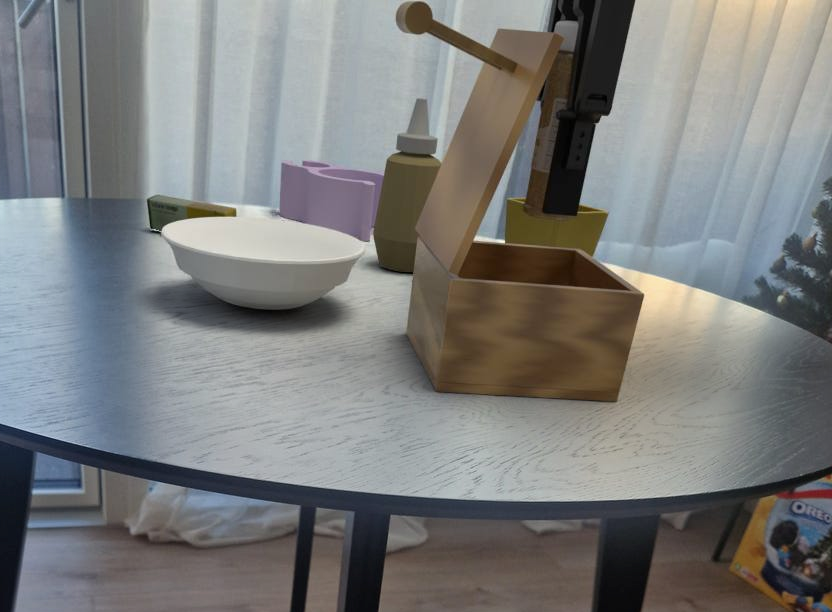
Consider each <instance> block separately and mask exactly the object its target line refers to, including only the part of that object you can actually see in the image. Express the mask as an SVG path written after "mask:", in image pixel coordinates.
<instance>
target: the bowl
mask: <svg viewBox="0 0 832 612" xmlns="http://www.w3.org/2000/svg"><path fill="white" fill-rule="evenodd" d="M160 235H161V237H162V239H163V240H164V241H165V242H166V243H167V244H168V245H169V247H170V248H171V250H172V252H173V257H174V260H175V262H176V266H177V268H178V269H179V270H180V271H182V272H183V273H184V274H185V275H188V276H190V278H191V279H192V280H193V281H194V282H196V283H197V284H198V285H199V286H200V287H202V288H203V289H204V290H205V291H207V292H208V293H210V294H211V295H213V296H215V297H216V298H217V299H220V300H222V301H224V302H226V303H229V304H232V305H234V306H239V307H243V308H249V309H255V310H267V311H268V310H269V311H270V310H277V311H279V310H281V311H282V310H290V309H291V310H292V309H297V308H300V307H303V306H305V305H308V304H311V303H312V302H314V301H317V300H319V299H320V298H322V297H324V296H326V294H328V293H329V292H331V291H333V290H334V289H335V288H336V287H338V286H341V285H343V284H346V282H348V279H349V277H350V274H351V271H352V269H353V267H354V266H355V264H356V263H357V261H358V260H359V259H360V258H362V257H363V256H364V255H365V253H366V251H367V248H366V246H365V244H364V242H363V241H361V240H360V239H359V238H354V237H352V236H350V235H348V234H345V233H342V232H339V231H335V230H332V229H328V228H324V227H320V226H315V225H310V224H305V223H304V222H299V221H292V220H283V219H275V218H263V217H249V216H248V217H247V216H237V217H203V218H193V219H186V220H180V221H176V222H173V223H170V224H167V225H166V226H164V227H163V229H162V232H160Z"/></svg>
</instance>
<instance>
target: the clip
mask: <svg viewBox="0 0 832 612" xmlns="http://www.w3.org/2000/svg"><path fill="white" fill-rule="evenodd" d="M383 177H384V173H382V172H378V171H372V170H365V169H359V168H358V169H357V168H350V167H344V166H340V165H337V164H334V163H330V162H325V161H318V160H310V159H302V162H301V165H300V164H295V163H293V161H292V160H285V159H284V160H281V162H280V183H279V185H280V186H279V187H280V189H279V208H278V210H279V211H278V215H279V216H280V217H283V218H285V219H289V220H294V221H297V222H300V223H304V224H310V225H315V226H320V227H324V228H328V229H332V230H335V231H339V232H342V233H345V234H348V235H350V236H352V237H354V238H356V239H358V240H360V241H361V242H370V241H371V232H372V227H373V228H374V225H375V220H376V214H377V209H378V204H379V198H380V193H381V188H382V183H383Z"/></svg>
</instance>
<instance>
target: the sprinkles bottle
mask: <svg viewBox="0 0 832 612" xmlns="http://www.w3.org/2000/svg"><path fill="white" fill-rule="evenodd" d="M578 25H579V24H578V22H577V21H559V22H557V23H556V25H555V30H554V33H556V34H558V35H560V36H562V37H564V40H563V42H562V44H561V47H560V49H559V51H558V53H557V55H556V58H555V60H554V62H553V64H552V67H551V69H550V71H549V76H548V81H547V86H546V92H545V98H544V102H543V106H542V110H541V109H540V115H539V121H538V126H537V131H536V137H535V143H534V146H533V147H534V148H533V152H532V158H531V163H530V173H531V174H529V180H528V184H529V185H527V191H526V194H525V198H526V201H525V203H524V204H523V212H524V213H526V214H528V215H530V216H533V217H539V218H545V219H552V220H571V219H574V218H575V217H576V216H568V215H556V214H545V213H543V212H542V209H543V203H544V198H545V193H546V188H547V183H548V177H549V172H550V167H551V162H552V156H553V151H554V146H555V141H556V135H557V130H558V125H559V120H557V119H556V112H557V111H559V110H561V109H564V110H566V107H567V99H568V92H569V84H570V77H571V69H572V62H573V54H574V48H575V43H576V37H577V32H578ZM594 124H596V123H594Z"/></svg>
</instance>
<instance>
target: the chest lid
mask: <svg viewBox="0 0 832 612" xmlns="http://www.w3.org/2000/svg"><path fill="white" fill-rule="evenodd" d="M395 23H396V26H397V28H398V29H399V30H400V31H401V32H402V33H404V34H410V35H416V36H417V35H418V36H420V35H423V34H428V35H430V36H432V37H434V38H435V39H438V40H440V41H442V42H444V43H446V44H448V45H450V46H452V47H453V48H456V49H457V50H459V51H461V52H464V53H465V54H467V55H469V56H471V57H473V58H475V59H477V60H479V61H481V62H483V64H482V66H481V68H480V70H479V73H478V76H477V78H476V80H475V82H474V85H473V87H472V90H471V92H470V95H469V97H468V100H467V101H466V104H465V107H464V109H463V111H462V114H461V116H460V119H459V120H458V124H457V126H456V128H455V130H454V133H453V136H452V138H451V141H450V142H449V145H448V147H447V150H446V153H445V154H444V157H443V159H442V162H441V163H442V164H441V167H440V169H439V172H438V174H437V176H436V179H435V181H434V184H433V186H432V188H431V191H430V193H429V196H428V198H427V200H426V203H425V205H424V208H423V210H422V213H421V215H420V217H419V220H418V222H417V225H416V227H415V230H416V231H417V232H418V233H419V235H420V236H421V237H422V239H423V240H424V241H425V242H426V244H427V245H428V246H429V247H430V249H431V250H432V251H433V252H434V254H435V255H436V256H437V257H438V259H439V260H440V261H441V262H442V264H443V265H444V266H445V267H446V269H447V270H448V271H449V272H451V273H453V274H455V275H458V274H459V271H460V269H461V267H462V265H463V262H464V260H465V258H466V256H467V253H468V251H469V249H470V247H471V245H472V242H473V241H475V238H476V237H477V233H478V231H479V229H480V227H481V224H482V222H483V220H484V219H485V215H486V213H487V211H488V209H489V207H490V204H491V202H492V200H493V198H494V196H495V194H496V191H497V189H498V186H499V184H500V182H501V180H502V177H503V176H504V173H505V171H506V169H507V166H508V164H509V162H510V160H511V157H512V156H513V154H514V151H515V149H516V147H517V144H518V142H519V140H520V137H521V135H522V133H523V132H524V128H525V127H526V124H527V122H528V120H529V118H530V115H531V113H532V111H533V109H534V106H535V104H536V102H537V98H538V96H539V93H540V91H541V89H542V87H543V84H544V82H545V80H546V78H547V75H548V73H549V71H550V69H551V67H552V64H553V62H554V60H555V58H556V55H557V53H558V51H559V49H560V47H561V44H562V42H563V40H564V37H562V36H560V35H558V34H556V33H551V32H547V31H537V30H524V29H512V28H511V29H510V28H497V30H496V32H495V35H494V37H493V39H492V42H491V44H490V46H489V47H488V46H486V45H484V44H482V43H480V42H478V41H477V40H474V39H473V38H471V37H469V36H467V35H465V34H463V33H461V32H459V31H457V30H455V29H453V28H451V27H449V26H447V24H444V23H441V22H439V21H438V20H436V19H434V15H433V11H432V7H430V5H429V4H428V3H427V2H425V1H422V0H413V1H412V0H411V1H409V0H408V1H404V2H402V3H401V4H400V5H399V6H398V8H397V10H396V13H395Z"/></svg>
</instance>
